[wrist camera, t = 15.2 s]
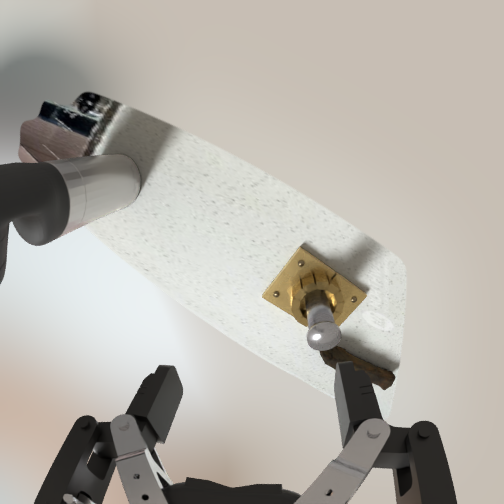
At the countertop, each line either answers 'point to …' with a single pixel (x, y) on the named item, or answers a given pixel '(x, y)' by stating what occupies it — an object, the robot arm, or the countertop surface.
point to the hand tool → (358, 366)
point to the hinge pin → (321, 322)
